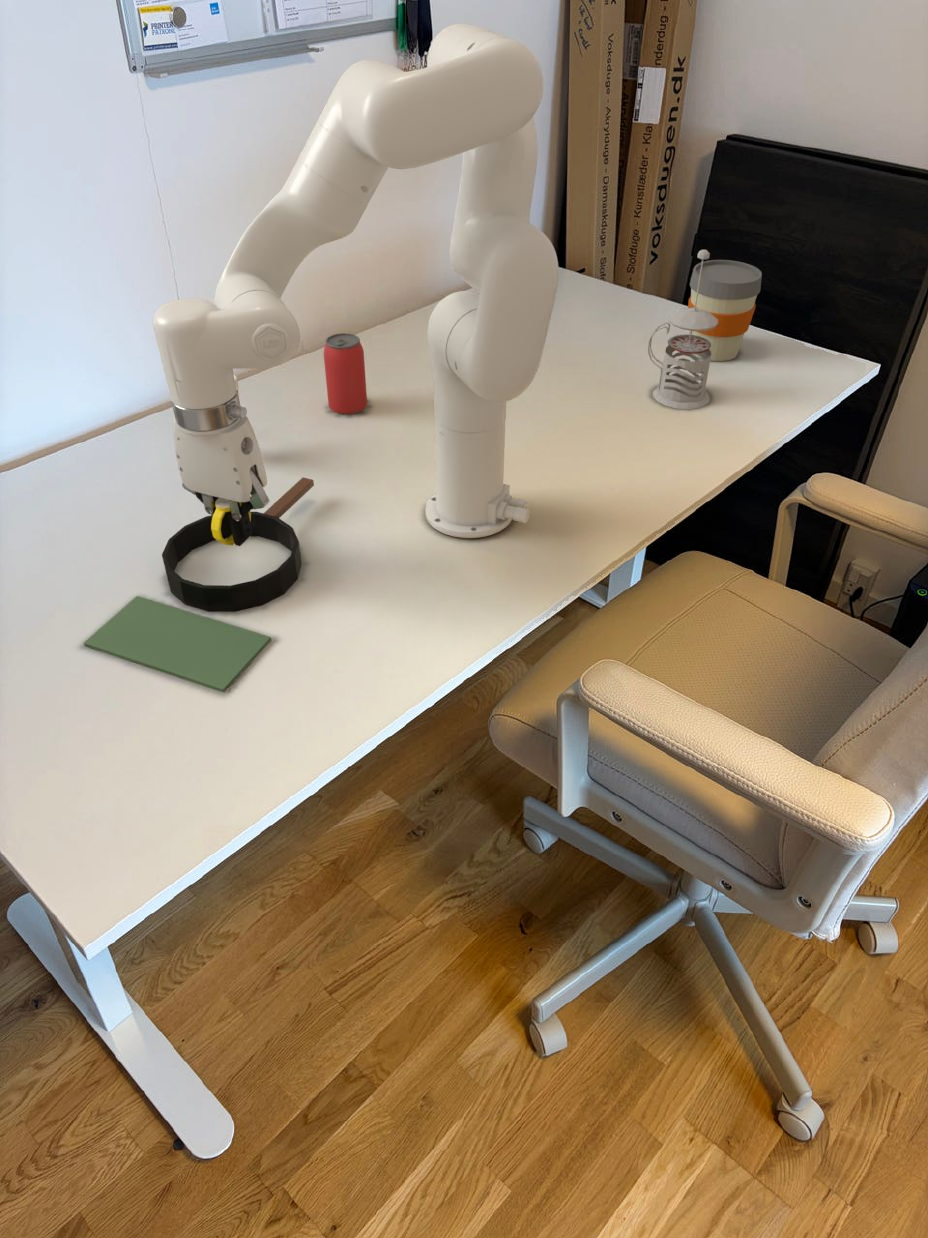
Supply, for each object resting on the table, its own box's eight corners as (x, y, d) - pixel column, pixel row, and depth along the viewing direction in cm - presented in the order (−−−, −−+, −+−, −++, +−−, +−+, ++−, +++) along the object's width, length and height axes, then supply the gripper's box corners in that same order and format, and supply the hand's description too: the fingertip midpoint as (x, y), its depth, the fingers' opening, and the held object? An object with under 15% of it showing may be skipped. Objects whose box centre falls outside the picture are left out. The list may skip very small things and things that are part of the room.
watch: (242, 524, 126) (234, 486, 122) (258, 530, 125) (251, 491, 121) (211, 548, 122) (202, 509, 118) (228, 554, 121) (219, 515, 117)
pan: (254, 626, 118) (249, 601, 115) (141, 591, 123) (134, 567, 121) (362, 511, 138) (360, 489, 135) (260, 486, 143) (257, 464, 140)
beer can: (321, 412, 161) (314, 344, 153) (340, 395, 166) (334, 328, 158) (356, 419, 159) (351, 350, 152) (374, 402, 164) (369, 335, 156)
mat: (271, 640, 116) (270, 637, 115) (223, 692, 109) (223, 689, 108) (137, 598, 122) (137, 595, 122) (84, 645, 115) (83, 642, 115)
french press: (705, 412, 161) (732, 263, 145) (637, 402, 164) (656, 255, 148) (713, 388, 168) (739, 243, 152) (647, 378, 171) (667, 235, 155)
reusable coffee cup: (666, 344, 183) (678, 265, 173) (720, 333, 187) (734, 255, 177) (705, 370, 174) (720, 288, 164) (761, 357, 178) (778, 277, 169)
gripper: (282, 406, 112) (302, 535, 124) (171, 384, 117) (201, 510, 129) (246, 436, 107) (271, 567, 118) (131, 411, 112) (167, 540, 123)
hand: (234, 536), depth 123 cm, fingers closed on watch, 2 cm apart
